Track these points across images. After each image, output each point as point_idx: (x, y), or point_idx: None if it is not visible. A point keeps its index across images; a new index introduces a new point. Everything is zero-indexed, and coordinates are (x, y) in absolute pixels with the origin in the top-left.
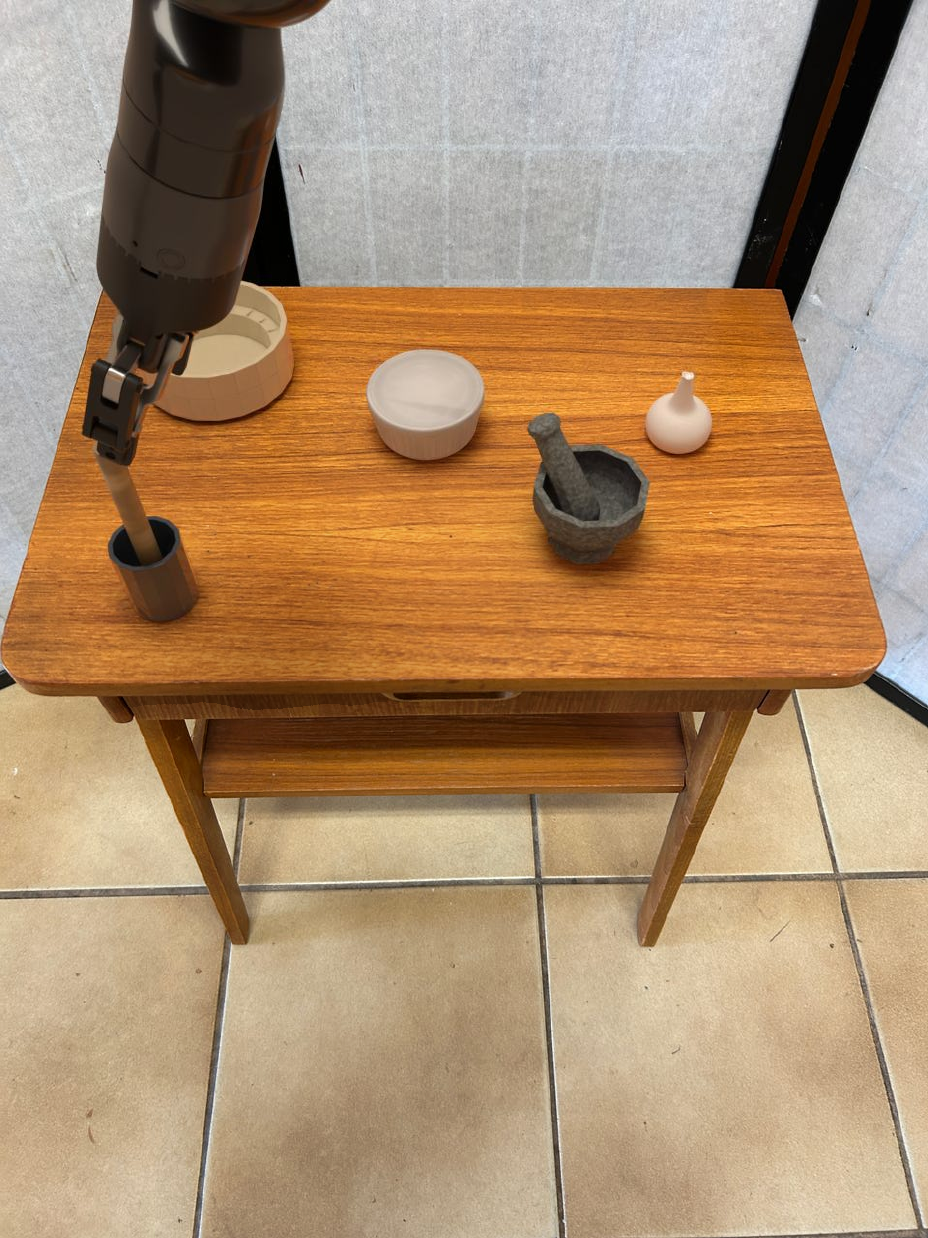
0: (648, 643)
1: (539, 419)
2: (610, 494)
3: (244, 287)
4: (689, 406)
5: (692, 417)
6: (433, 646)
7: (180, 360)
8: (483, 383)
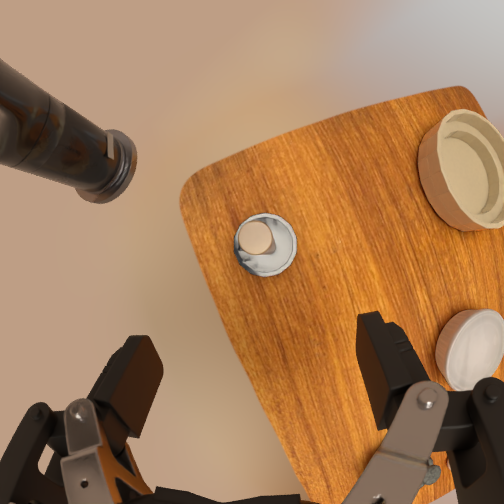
0: (325, 495)
1: (433, 475)
2: None
3: None
4: None
5: None
6: (291, 425)
7: (364, 376)
8: None
